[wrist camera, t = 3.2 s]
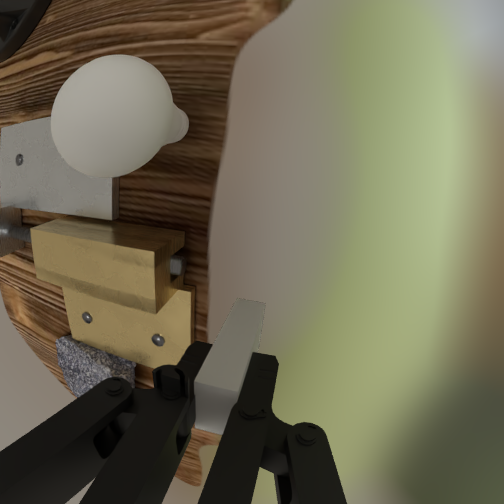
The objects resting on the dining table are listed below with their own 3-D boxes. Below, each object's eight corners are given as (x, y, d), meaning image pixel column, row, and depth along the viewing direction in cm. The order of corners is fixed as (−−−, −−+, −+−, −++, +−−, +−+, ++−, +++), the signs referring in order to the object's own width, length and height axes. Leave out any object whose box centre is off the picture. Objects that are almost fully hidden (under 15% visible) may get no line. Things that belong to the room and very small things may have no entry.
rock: (121, 380, 22) (130, 446, 24) (149, 353, 27) (152, 419, 30) (37, 335, 24) (53, 402, 26) (68, 319, 29) (78, 383, 32)
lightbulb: (127, 125, 20) (13, 119, 9) (186, 70, 18) (89, 15, 7) (170, 184, 21) (62, 215, 10) (235, 131, 19) (160, 105, 8)
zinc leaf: (7, 127, 21) (-26, 130, 17) (202, 105, 18) (171, 92, 14) (10, 242, 26) (-20, 255, 21) (189, 285, 23) (162, 316, 18)
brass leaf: (61, 214, 23) (23, 227, 18) (197, 233, 21) (169, 254, 17) (78, 334, 27) (51, 357, 23) (194, 372, 26) (175, 408, 21)
